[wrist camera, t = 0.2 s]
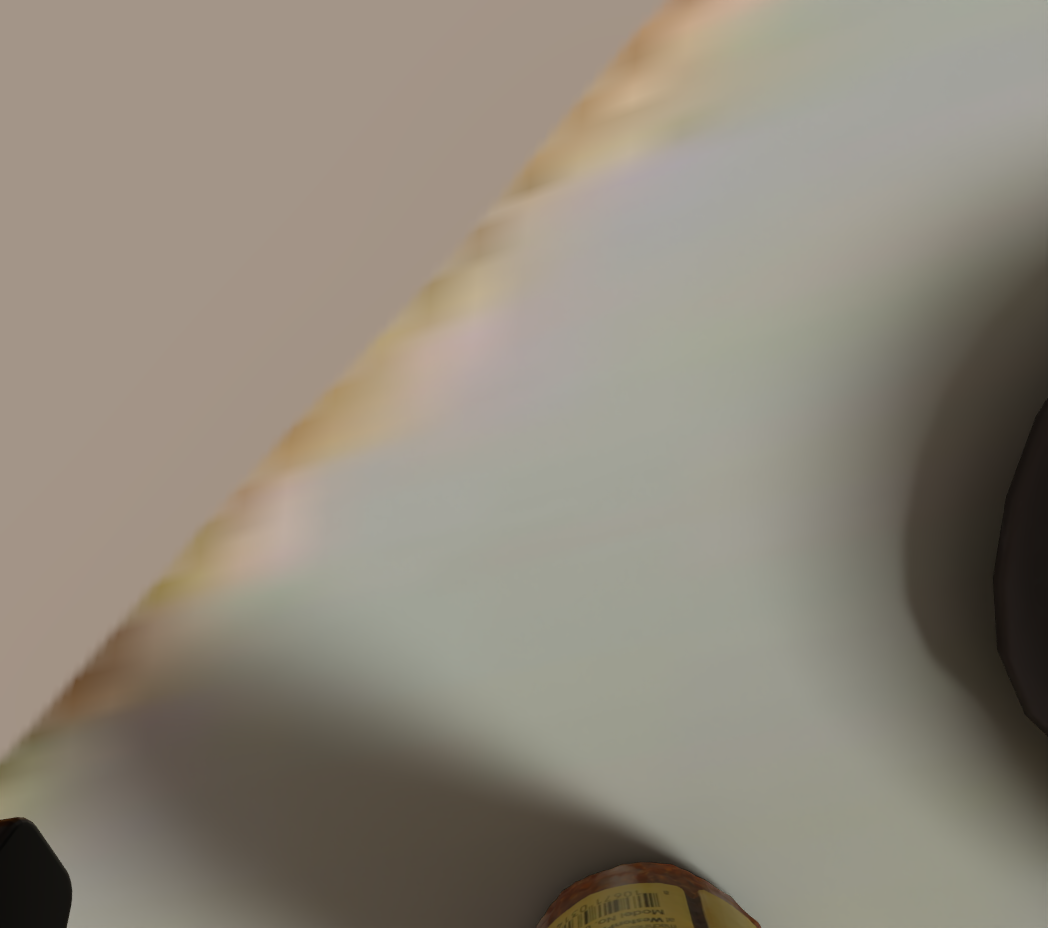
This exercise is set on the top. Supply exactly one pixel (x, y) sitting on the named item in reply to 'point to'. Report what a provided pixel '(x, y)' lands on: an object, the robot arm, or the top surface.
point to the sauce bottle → (645, 901)
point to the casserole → (1026, 577)
